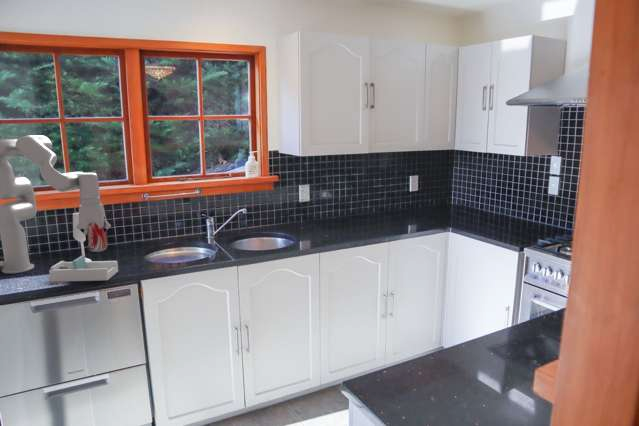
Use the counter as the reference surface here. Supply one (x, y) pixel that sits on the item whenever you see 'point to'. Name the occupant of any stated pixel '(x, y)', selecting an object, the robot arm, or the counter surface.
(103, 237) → the soda can
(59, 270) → the light grey tray
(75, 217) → the champagne flute
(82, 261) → the pusher plate
